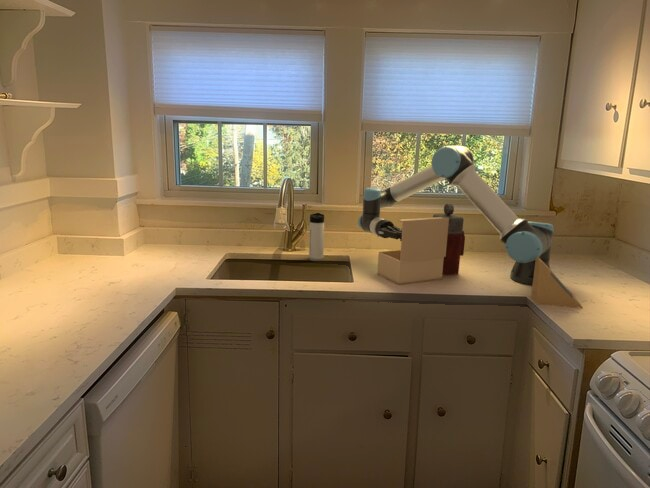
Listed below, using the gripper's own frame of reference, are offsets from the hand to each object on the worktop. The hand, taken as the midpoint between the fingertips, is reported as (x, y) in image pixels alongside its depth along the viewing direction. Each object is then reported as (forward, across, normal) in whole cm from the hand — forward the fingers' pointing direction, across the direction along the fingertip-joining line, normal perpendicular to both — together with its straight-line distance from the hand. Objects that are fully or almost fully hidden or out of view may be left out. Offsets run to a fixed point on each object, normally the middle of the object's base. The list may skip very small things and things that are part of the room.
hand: (415, 239), depth 188 cm
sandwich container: (+40, -31, -16) cm, 54 cm away
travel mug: (-38, +24, -16) cm, 48 cm away
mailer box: (-2, 0, -15) cm, 16 cm away
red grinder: (-3, -19, -16) cm, 25 cm away
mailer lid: (+2, 0, +1) cm, 2 cm away
